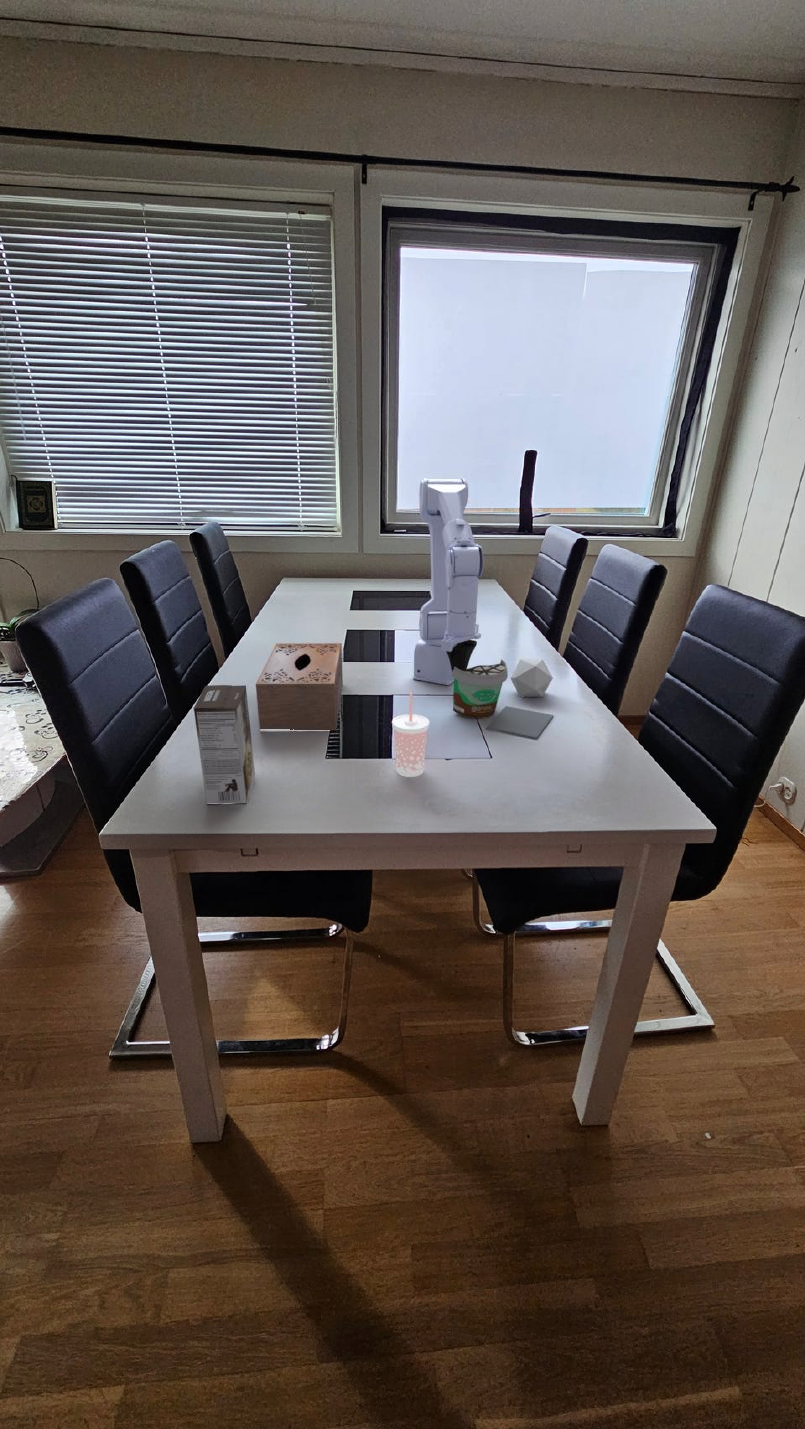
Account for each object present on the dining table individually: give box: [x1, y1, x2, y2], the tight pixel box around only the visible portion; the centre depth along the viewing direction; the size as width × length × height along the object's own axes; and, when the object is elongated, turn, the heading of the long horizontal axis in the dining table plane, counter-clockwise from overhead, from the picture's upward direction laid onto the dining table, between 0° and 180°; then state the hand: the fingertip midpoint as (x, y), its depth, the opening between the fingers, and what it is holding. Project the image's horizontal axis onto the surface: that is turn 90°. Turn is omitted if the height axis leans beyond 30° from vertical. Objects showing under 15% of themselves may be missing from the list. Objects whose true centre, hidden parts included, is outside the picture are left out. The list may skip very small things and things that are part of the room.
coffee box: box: [193, 684, 256, 804], centre depth 94 cm, size 9×6×16 cm
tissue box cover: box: [255, 642, 344, 731], centre depth 128 cm, size 26×14×10 cm, turn 2°
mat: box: [485, 705, 554, 740], centre depth 122 cm, size 10×12×1 cm
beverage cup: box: [391, 692, 430, 778], centre depth 101 cm, size 6×6×14 cm
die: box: [510, 658, 554, 698], centre depth 135 cm, size 8×9×10 cm
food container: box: [451, 659, 509, 719], centre depth 123 cm, size 12×6×10 cm, turn 118°
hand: (458, 676), depth 125 cm, fingers closed
